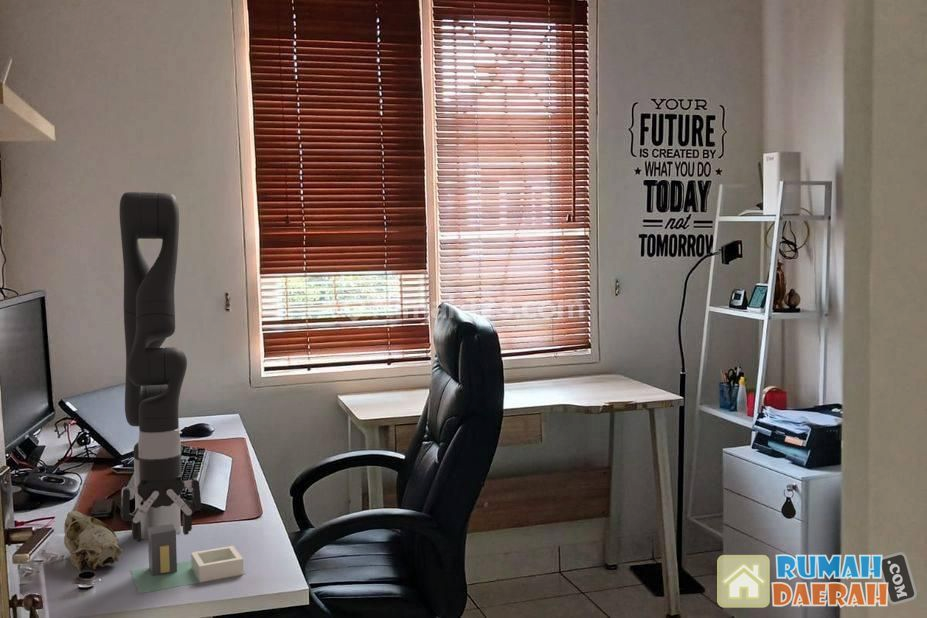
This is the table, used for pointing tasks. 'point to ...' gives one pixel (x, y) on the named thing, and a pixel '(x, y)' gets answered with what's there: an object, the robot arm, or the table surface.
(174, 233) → the robot arm
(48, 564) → the table surface
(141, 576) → the board
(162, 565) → the plug
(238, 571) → the frame
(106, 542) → the skull
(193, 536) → the table surface
